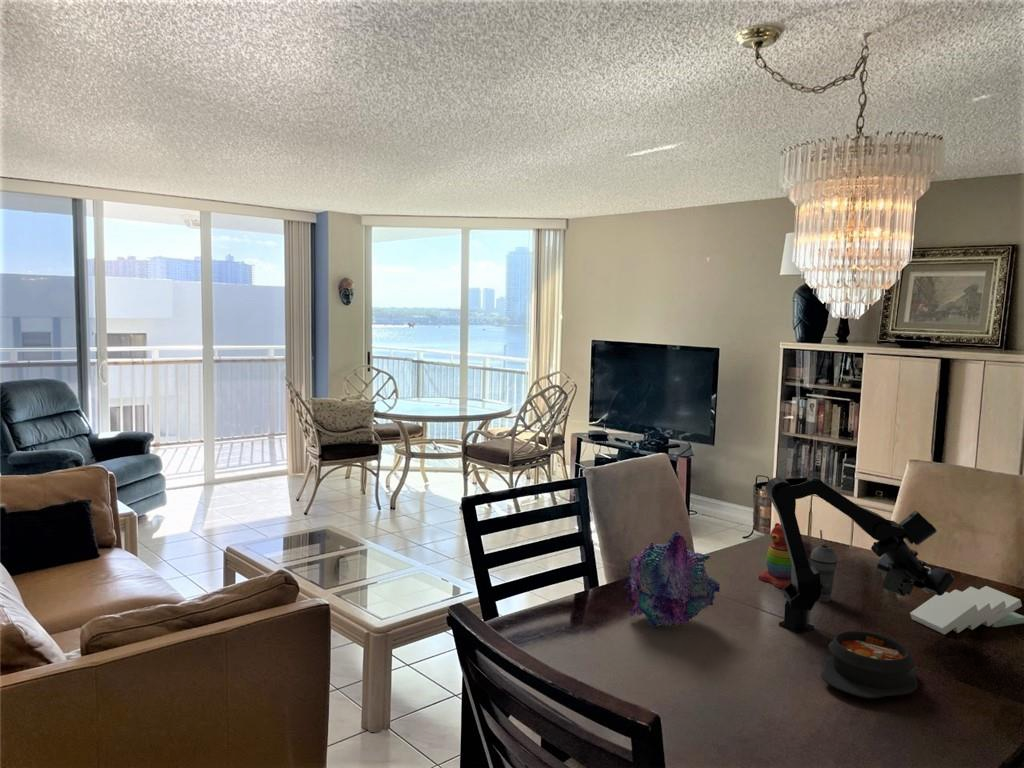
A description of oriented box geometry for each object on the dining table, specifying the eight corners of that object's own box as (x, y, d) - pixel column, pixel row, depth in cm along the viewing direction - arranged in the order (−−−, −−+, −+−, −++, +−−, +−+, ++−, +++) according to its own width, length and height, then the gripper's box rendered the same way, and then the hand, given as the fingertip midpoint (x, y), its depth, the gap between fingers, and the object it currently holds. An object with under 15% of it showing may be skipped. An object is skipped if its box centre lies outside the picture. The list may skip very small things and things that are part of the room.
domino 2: (956, 626, 181) (989, 602, 184) (923, 611, 191) (955, 589, 193) (958, 633, 182) (991, 609, 184) (925, 617, 191) (957, 595, 194)
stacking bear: (755, 578, 220) (757, 522, 218) (779, 573, 224) (782, 518, 223) (781, 589, 210) (784, 531, 208) (806, 585, 214) (809, 527, 213)
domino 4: (986, 620, 184) (1020, 599, 187) (953, 605, 194) (985, 585, 196) (988, 626, 185) (1021, 606, 187) (954, 611, 194) (987, 591, 197)
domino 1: (942, 628, 180) (975, 604, 183) (909, 613, 189) (942, 590, 192) (944, 634, 180) (978, 610, 183) (912, 619, 190) (944, 596, 193)
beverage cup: (832, 605, 198) (835, 536, 197) (804, 599, 203) (808, 531, 201) (838, 598, 204) (841, 530, 203) (811, 592, 208) (815, 525, 207)
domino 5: (993, 622, 185) (1026, 617, 189) (959, 607, 195) (991, 603, 199) (993, 629, 186) (1026, 624, 189) (958, 614, 195) (990, 610, 199)
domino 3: (970, 623, 183) (1004, 600, 185) (937, 608, 192) (970, 586, 195) (972, 629, 183) (1006, 606, 186) (939, 614, 193) (972, 592, 195)
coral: (609, 628, 180) (612, 532, 178) (635, 600, 199) (638, 513, 197) (708, 650, 169) (713, 548, 167) (726, 618, 188) (730, 526, 186)
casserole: (854, 651, 170) (856, 617, 170) (938, 682, 156) (941, 645, 155) (798, 681, 155) (800, 644, 154) (886, 718, 140) (888, 678, 140)
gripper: (852, 566, 187) (881, 602, 191) (913, 591, 169) (944, 630, 174) (877, 534, 189) (905, 571, 193) (939, 556, 171) (969, 595, 176)
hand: (929, 591), depth 184 cm, fingers closed
